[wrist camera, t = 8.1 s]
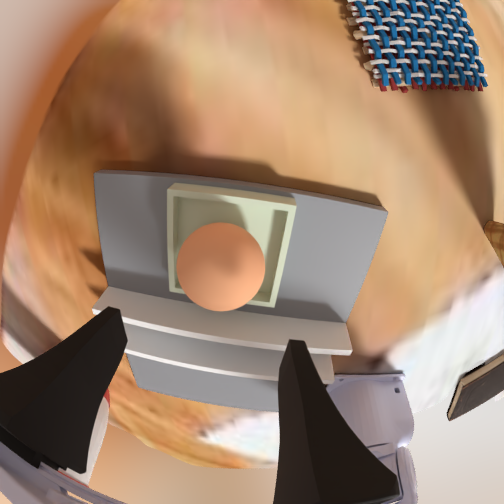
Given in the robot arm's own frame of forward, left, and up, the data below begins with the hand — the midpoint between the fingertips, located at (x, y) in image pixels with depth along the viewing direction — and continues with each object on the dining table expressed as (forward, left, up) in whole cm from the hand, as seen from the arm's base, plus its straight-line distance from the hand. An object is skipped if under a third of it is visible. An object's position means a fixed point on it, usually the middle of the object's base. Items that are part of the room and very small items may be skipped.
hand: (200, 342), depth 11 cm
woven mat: (-10, -18, -10) cm, 23 cm away
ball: (0, 0, -6) cm, 6 cm away
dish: (0, 0, -8) cm, 8 cm away
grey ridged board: (0, +9, -9) cm, 13 cm away
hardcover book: (-49, +18, -10) cm, 53 cm away
